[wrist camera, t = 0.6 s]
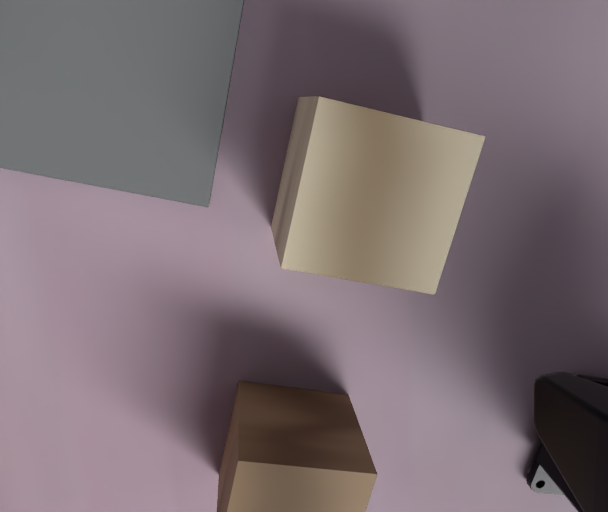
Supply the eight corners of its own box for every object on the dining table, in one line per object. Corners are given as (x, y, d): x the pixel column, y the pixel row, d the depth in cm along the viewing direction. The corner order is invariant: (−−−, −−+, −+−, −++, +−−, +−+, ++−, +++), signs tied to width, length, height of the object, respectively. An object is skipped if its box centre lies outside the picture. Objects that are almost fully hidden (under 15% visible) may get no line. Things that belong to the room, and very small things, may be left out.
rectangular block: (348, 393, 22) (377, 474, 17) (322, 482, 23) (343, 579, 19) (238, 380, 21) (238, 460, 16) (218, 473, 23) (213, 572, 18)
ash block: (423, 127, 19) (485, 136, 14) (389, 248, 20) (434, 294, 15) (298, 96, 18) (319, 96, 13) (270, 226, 19) (281, 268, 14)
